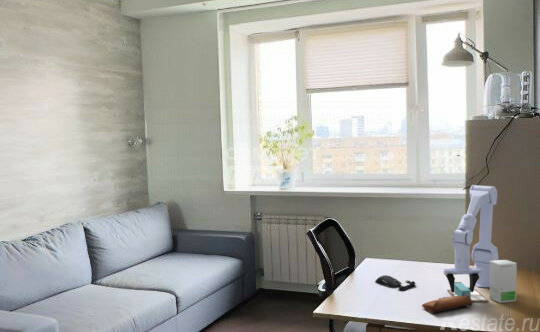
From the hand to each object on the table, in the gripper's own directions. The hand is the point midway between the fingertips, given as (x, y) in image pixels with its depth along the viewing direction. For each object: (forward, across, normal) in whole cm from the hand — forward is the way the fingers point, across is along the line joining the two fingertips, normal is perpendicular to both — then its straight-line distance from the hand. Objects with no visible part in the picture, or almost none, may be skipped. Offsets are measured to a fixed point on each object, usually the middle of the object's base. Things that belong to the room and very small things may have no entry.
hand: (462, 291), depth 212 cm
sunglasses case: (+2, -10, -12) cm, 16 cm away
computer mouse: (+3, -23, +19) cm, 30 cm away
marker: (+2, 0, 0) cm, 2 cm away
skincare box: (+3, +15, -3) cm, 16 cm away
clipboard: (+2, +2, +1) cm, 4 cm away
